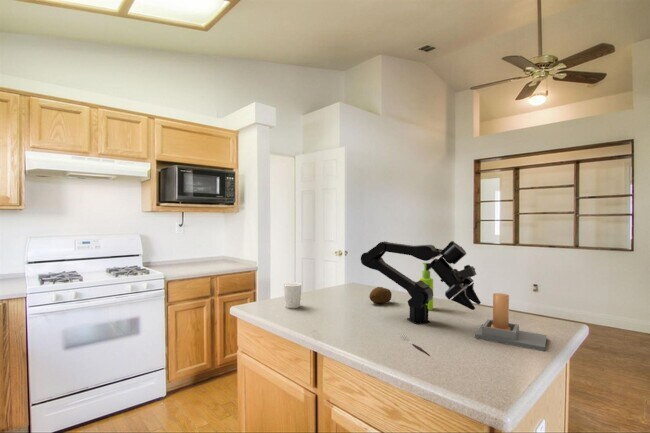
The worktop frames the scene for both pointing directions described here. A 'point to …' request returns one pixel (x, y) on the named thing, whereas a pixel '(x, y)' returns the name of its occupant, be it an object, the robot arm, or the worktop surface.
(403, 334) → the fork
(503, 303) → the orange knob handle
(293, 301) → the white cup
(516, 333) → the housing
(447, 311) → the worktop surface
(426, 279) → the soap dispenser
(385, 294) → the potato
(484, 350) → the worktop surface
